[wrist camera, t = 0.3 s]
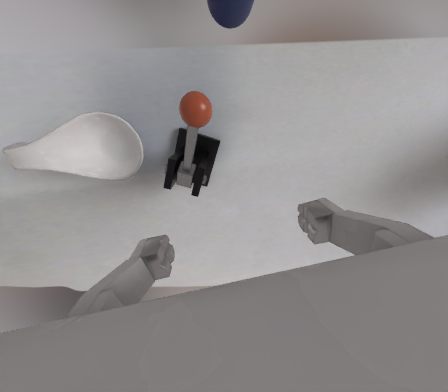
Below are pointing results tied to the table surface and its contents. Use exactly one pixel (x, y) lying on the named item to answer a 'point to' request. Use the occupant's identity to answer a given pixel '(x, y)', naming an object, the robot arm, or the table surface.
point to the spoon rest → (84, 148)
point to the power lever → (192, 131)
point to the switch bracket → (202, 160)
